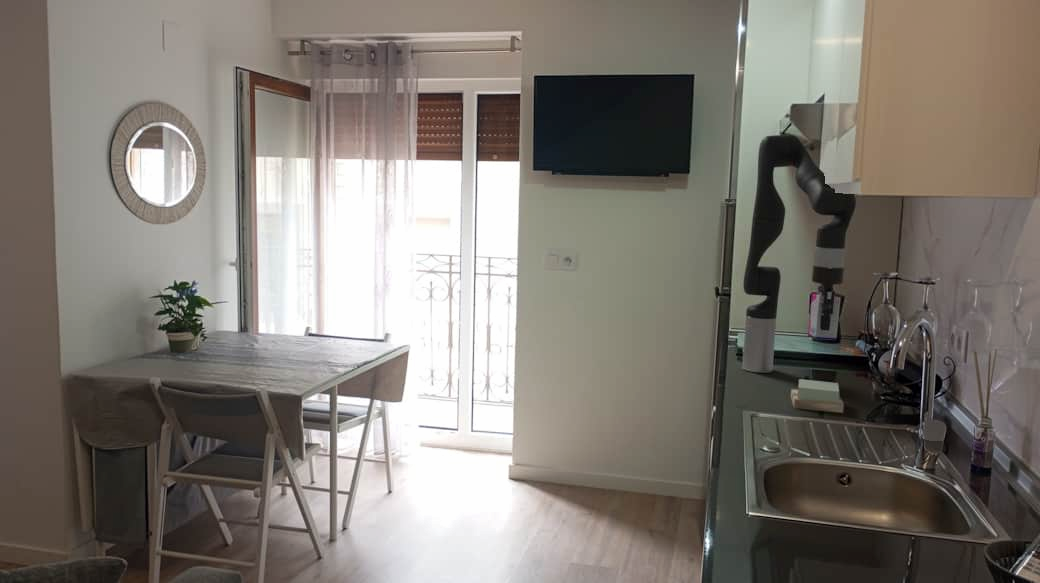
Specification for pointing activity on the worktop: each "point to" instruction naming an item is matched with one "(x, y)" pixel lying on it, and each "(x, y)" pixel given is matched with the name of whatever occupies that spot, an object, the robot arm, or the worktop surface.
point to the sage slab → (818, 391)
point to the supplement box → (815, 319)
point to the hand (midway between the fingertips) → (823, 327)
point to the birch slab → (816, 404)
